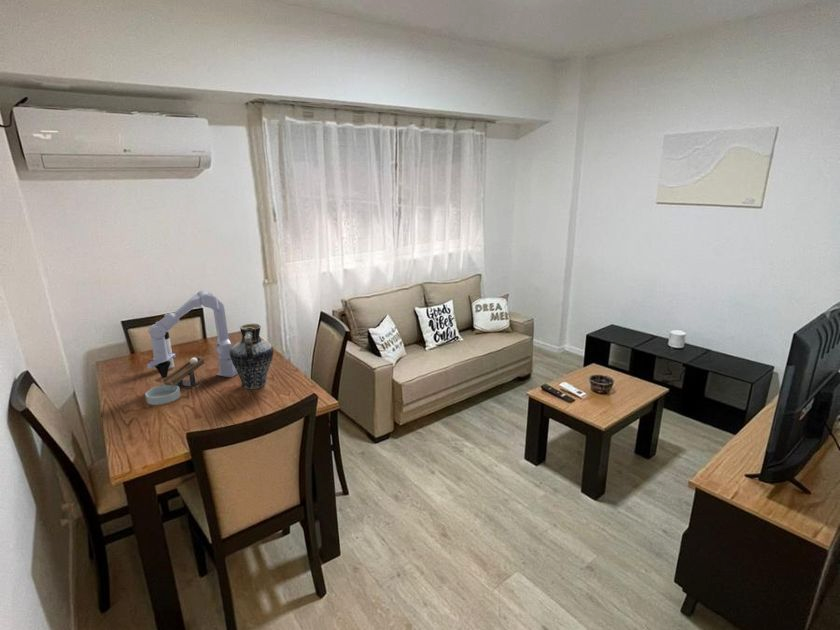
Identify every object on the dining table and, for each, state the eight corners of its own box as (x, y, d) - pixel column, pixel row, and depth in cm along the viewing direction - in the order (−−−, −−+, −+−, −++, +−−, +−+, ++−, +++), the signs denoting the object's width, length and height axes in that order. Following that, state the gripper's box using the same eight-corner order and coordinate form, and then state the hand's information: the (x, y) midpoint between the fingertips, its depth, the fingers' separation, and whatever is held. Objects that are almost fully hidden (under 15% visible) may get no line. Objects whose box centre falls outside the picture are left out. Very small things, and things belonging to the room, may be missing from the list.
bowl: (186, 393, 208) (185, 386, 207) (163, 406, 196) (162, 399, 195) (163, 389, 212) (162, 382, 211) (139, 402, 200) (138, 395, 198)
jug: (233, 380, 222) (226, 322, 213) (274, 373, 229) (268, 317, 221) (234, 398, 204) (226, 336, 195) (279, 390, 211) (273, 330, 202)
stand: (199, 383, 218) (197, 370, 216) (191, 388, 213) (189, 374, 211) (182, 381, 220) (180, 368, 218) (174, 385, 216) (172, 372, 214)
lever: (205, 364, 223) (203, 357, 221) (175, 387, 206) (172, 379, 204) (184, 361, 226) (182, 354, 225) (153, 383, 209) (150, 376, 207)
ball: (200, 361, 222) (197, 356, 219) (196, 366, 219) (192, 361, 217) (194, 360, 222) (191, 355, 220) (190, 365, 220) (186, 360, 218)
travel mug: (165, 371, 231) (159, 335, 225) (158, 369, 234) (152, 332, 228) (177, 367, 236) (171, 331, 230) (170, 365, 239) (164, 329, 233)
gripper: (165, 343, 215) (169, 369, 219) (139, 354, 201) (144, 382, 205) (177, 345, 213) (181, 371, 217) (152, 356, 200) (157, 384, 203)
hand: (164, 376), depth 211 cm, fingers closed, pressing on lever
